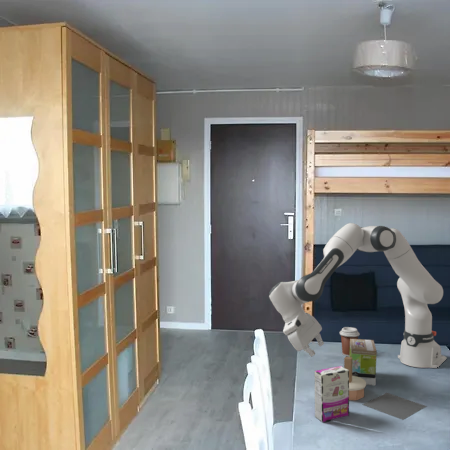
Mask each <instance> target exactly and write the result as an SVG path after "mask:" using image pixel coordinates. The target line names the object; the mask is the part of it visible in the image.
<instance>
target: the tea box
mask: <svg viewBox="0 0 450 450" xmlns="http://www.w3.org/2000/svg"><path fill="white" fill-rule="evenodd" d="M377 351H378V350H377V348H376V344H375V340H374V339H361V338H358V339H350V356H348V357H352V376H357V377H360V378H362V379H364V380H365V381H366V386H376V380H377V378H376V377H377Z"/></svg>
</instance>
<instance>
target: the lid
mask: <svg viewBox="0 0 450 450" xmlns="http://www.w3.org/2000/svg"><path fill="white" fill-rule="evenodd" d="M343 360H344V361H343V365H344V366H343V367H344V368H346V369H348V370H349V391H356V390H361V389H364V390H365V388H366V386H367V385H366V381H365V380H364V379H362V378H360V377H357V376H352V357H349V356H345V357H344V359H343Z"/></svg>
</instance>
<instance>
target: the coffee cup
mask: <svg viewBox="0 0 450 450" xmlns="http://www.w3.org/2000/svg"><path fill="white" fill-rule="evenodd" d="M360 334H361V333H360V332H359V331H358V329H357V328H356V327H352V326H350V327H349V326H344V327H343V328H341V330H340V331H339V335H340V337H341V353H342V355H343V356H345V357H346V356H347V357H349V356H350V339H359V336H360Z"/></svg>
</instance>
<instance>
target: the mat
mask: <svg viewBox="0 0 450 450" xmlns="http://www.w3.org/2000/svg"><path fill="white" fill-rule="evenodd" d="M362 405H363V406H364V407H367V408H370V409H373V410H376V411H378V412H380V413H383V414H387V415H389V416H392V417H394V418H397V419H399V420H402V421H404V420H406V419H407V418H409V417H411V416H413V415H414V414H416V413H418V412H420V411H421V410H423V409H425V408H427V407H428V406H427V405H424V404H422V403H419V402H416V401H412V400H410V399H407V398H403V397H401V396H398V395H395V394H393V393H389V392H385V393H383V394H381V395H379V396H377V397H375V398H373V399H371V400H368V401H366V402H364V403H362Z"/></svg>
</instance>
